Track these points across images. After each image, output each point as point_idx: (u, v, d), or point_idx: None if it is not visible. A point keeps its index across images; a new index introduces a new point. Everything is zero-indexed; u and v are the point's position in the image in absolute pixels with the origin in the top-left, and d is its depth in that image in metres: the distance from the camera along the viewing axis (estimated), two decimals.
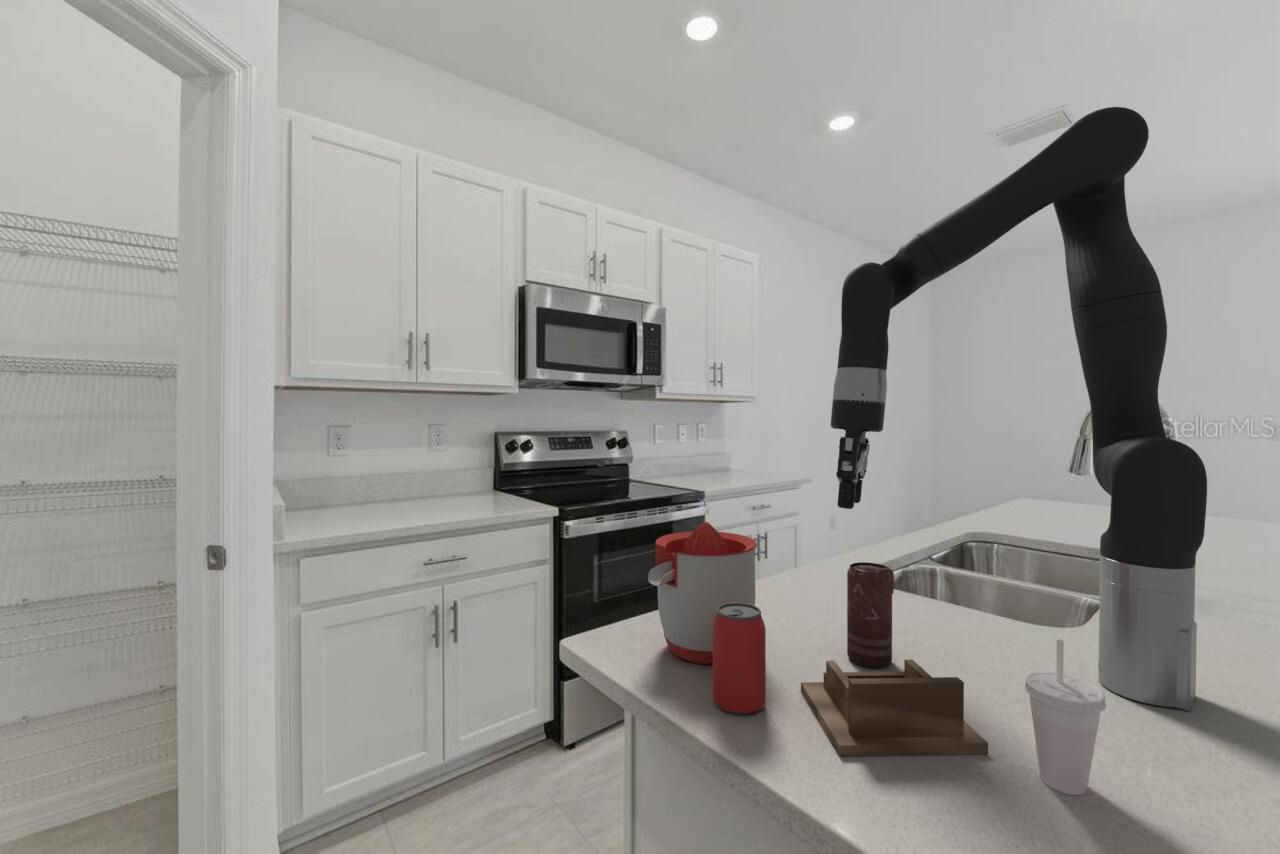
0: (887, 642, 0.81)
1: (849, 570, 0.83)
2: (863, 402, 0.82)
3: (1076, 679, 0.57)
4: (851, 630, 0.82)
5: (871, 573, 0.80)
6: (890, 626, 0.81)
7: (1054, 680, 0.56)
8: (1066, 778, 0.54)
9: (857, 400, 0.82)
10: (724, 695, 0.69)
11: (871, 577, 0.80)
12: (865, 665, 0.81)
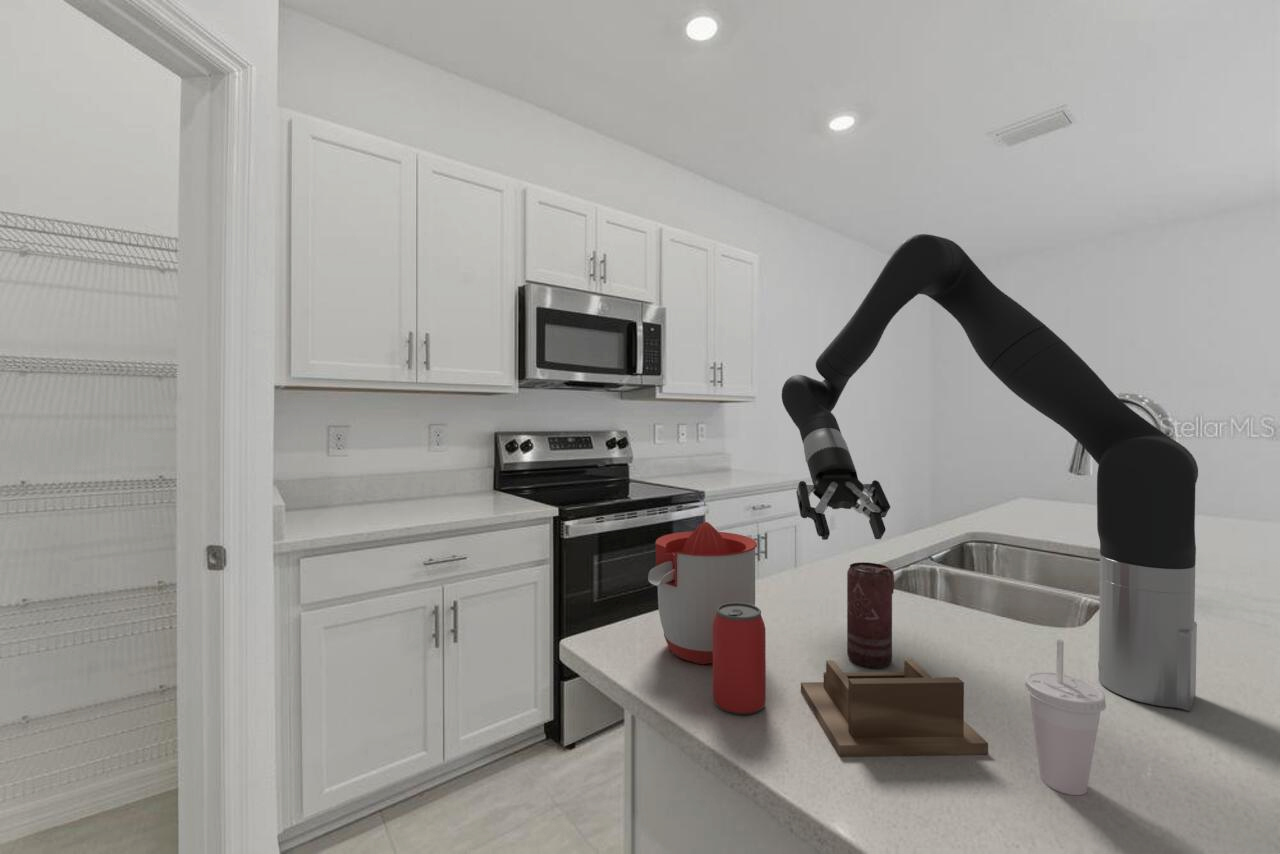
0: (887, 642, 0.81)
1: (849, 570, 0.83)
2: (810, 458, 1.00)
3: (1076, 679, 0.57)
4: (851, 630, 0.82)
5: (871, 573, 0.80)
6: (890, 626, 0.81)
7: (1054, 680, 0.56)
8: (1066, 778, 0.54)
9: (808, 460, 1.00)
10: (724, 695, 0.69)
11: (871, 577, 0.80)
12: (865, 665, 0.81)
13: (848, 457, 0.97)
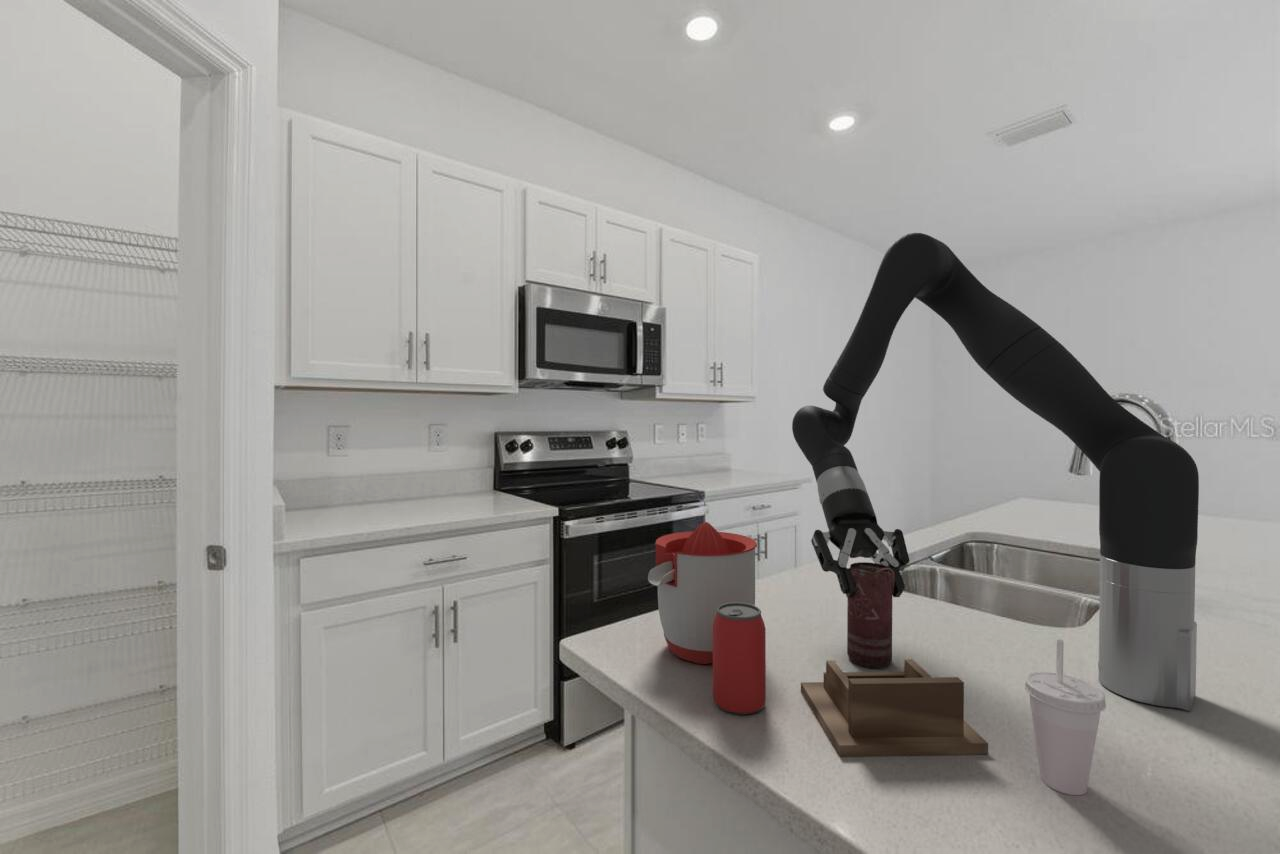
0: (887, 642, 0.81)
1: None
2: (825, 499, 0.92)
3: (1076, 679, 0.57)
4: (851, 630, 0.82)
5: (871, 573, 0.80)
6: (890, 626, 0.81)
7: (1054, 680, 0.56)
8: (1066, 778, 0.54)
9: (823, 501, 0.92)
10: (724, 695, 0.69)
11: (871, 577, 0.80)
12: (865, 665, 0.81)
13: (867, 500, 0.89)
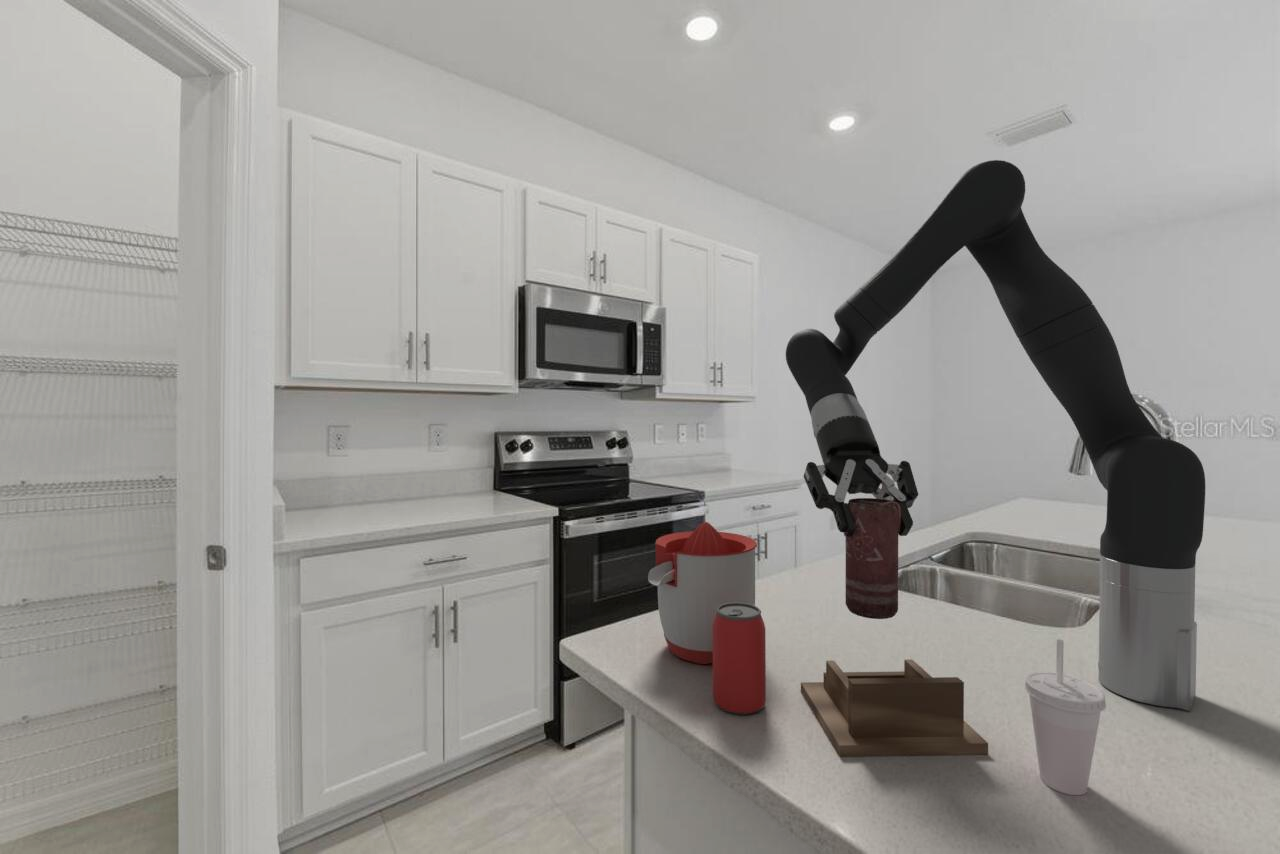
0: (892, 588, 0.68)
1: (848, 505, 0.71)
2: (820, 430, 0.79)
3: (1076, 679, 0.57)
4: (850, 574, 0.70)
5: (874, 506, 0.68)
6: (896, 569, 0.69)
7: (1054, 680, 0.56)
8: (1066, 778, 0.54)
9: (817, 433, 0.80)
10: (724, 695, 0.69)
11: (874, 511, 0.68)
12: (866, 615, 0.69)
13: (868, 429, 0.77)
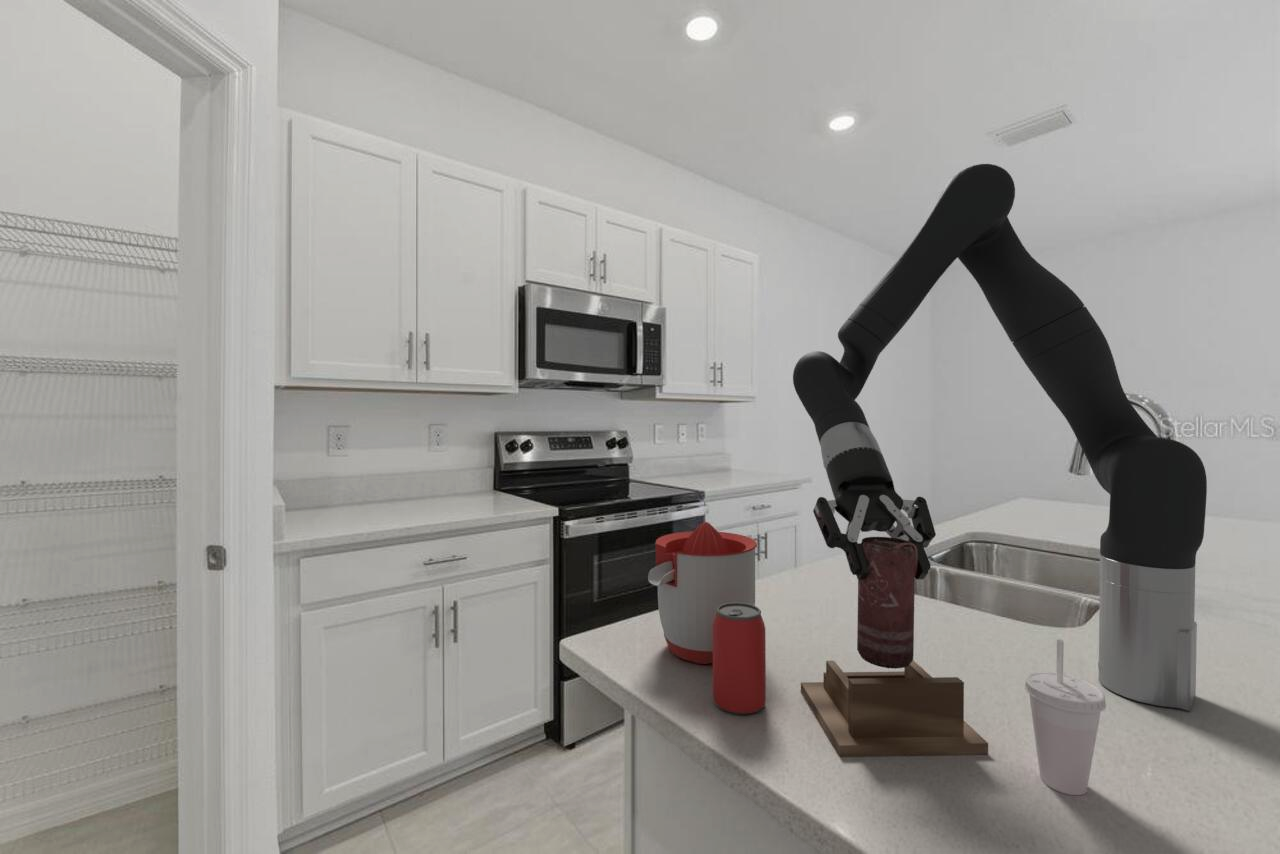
0: (908, 636, 0.64)
1: (861, 545, 0.67)
2: (830, 462, 0.75)
3: (1076, 679, 0.57)
4: (863, 620, 0.66)
5: (889, 548, 0.64)
6: (912, 615, 0.65)
7: (1054, 680, 0.56)
8: (1066, 778, 0.54)
9: (827, 464, 0.76)
10: (724, 695, 0.69)
11: (889, 553, 0.64)
12: (880, 664, 0.64)
13: (882, 461, 0.72)
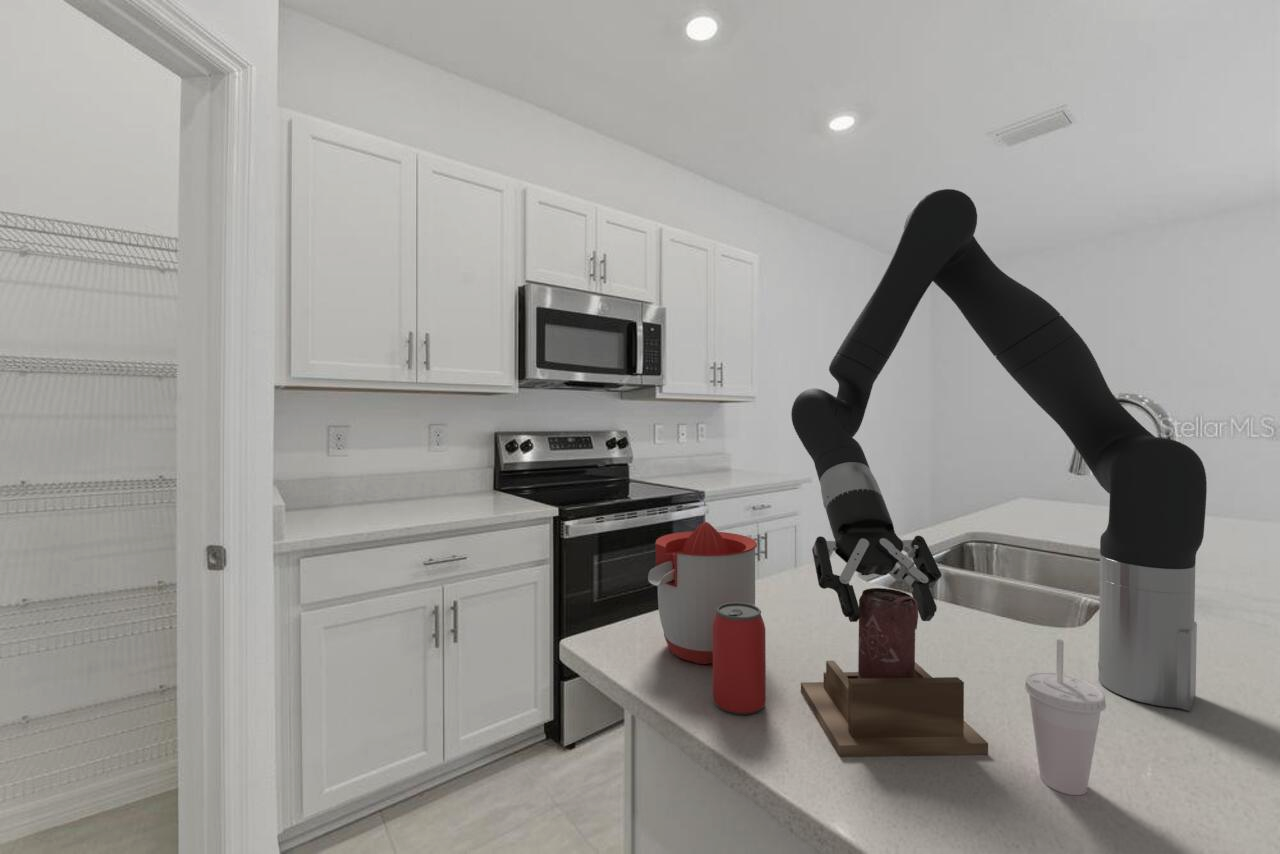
0: None
1: (861, 598, 0.67)
2: (830, 503, 0.75)
3: (1076, 679, 0.57)
4: (863, 673, 0.66)
5: (890, 604, 0.64)
6: (913, 670, 0.65)
7: (1054, 680, 0.56)
8: (1066, 778, 0.54)
9: (827, 505, 0.76)
10: (724, 695, 0.69)
11: (890, 609, 0.64)
12: None
13: (882, 503, 0.73)
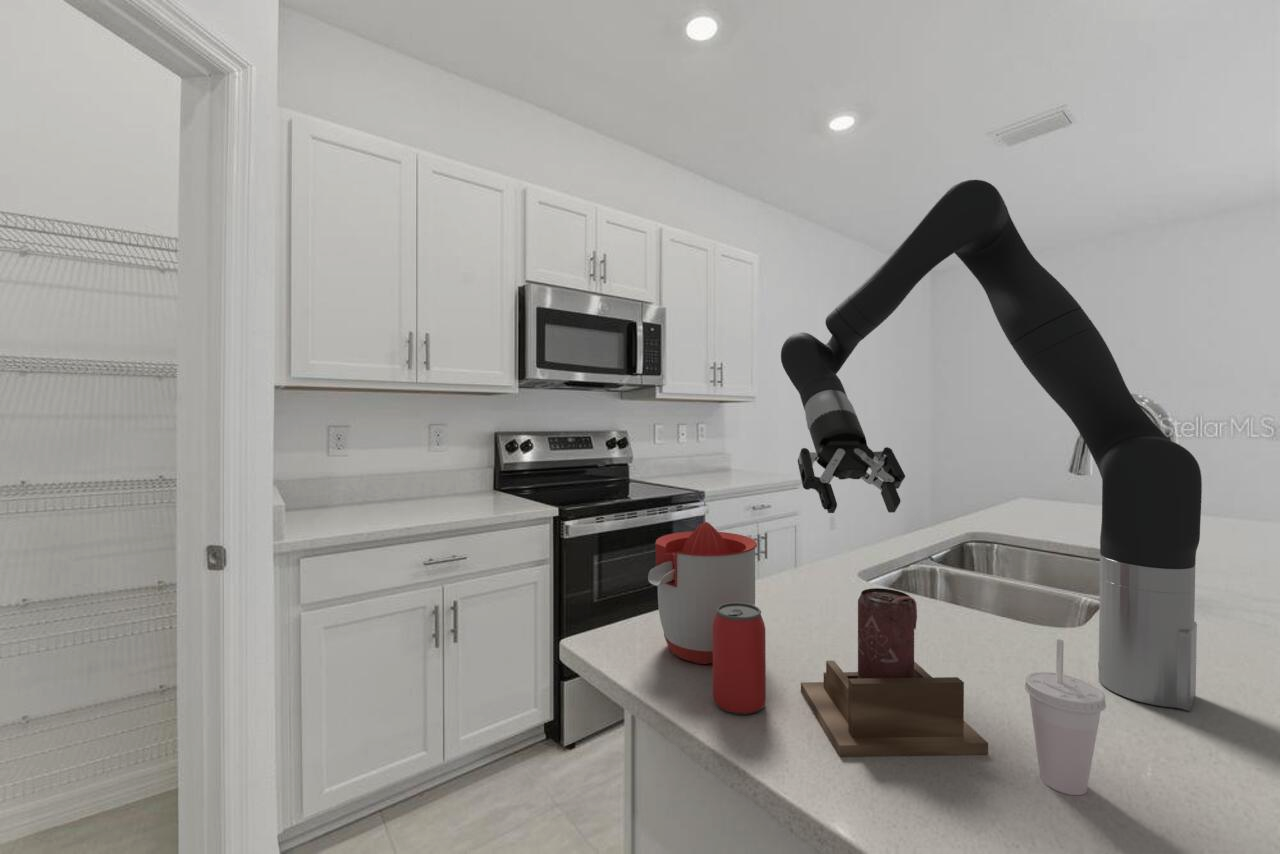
0: None
1: (860, 599, 0.67)
2: (813, 423, 0.88)
3: (1076, 679, 0.57)
4: (863, 674, 0.66)
5: (888, 604, 0.64)
6: (912, 670, 0.65)
7: (1054, 680, 0.56)
8: (1066, 778, 0.54)
9: (810, 425, 0.89)
10: (724, 695, 0.69)
11: (888, 609, 0.64)
12: None
13: (856, 421, 0.85)
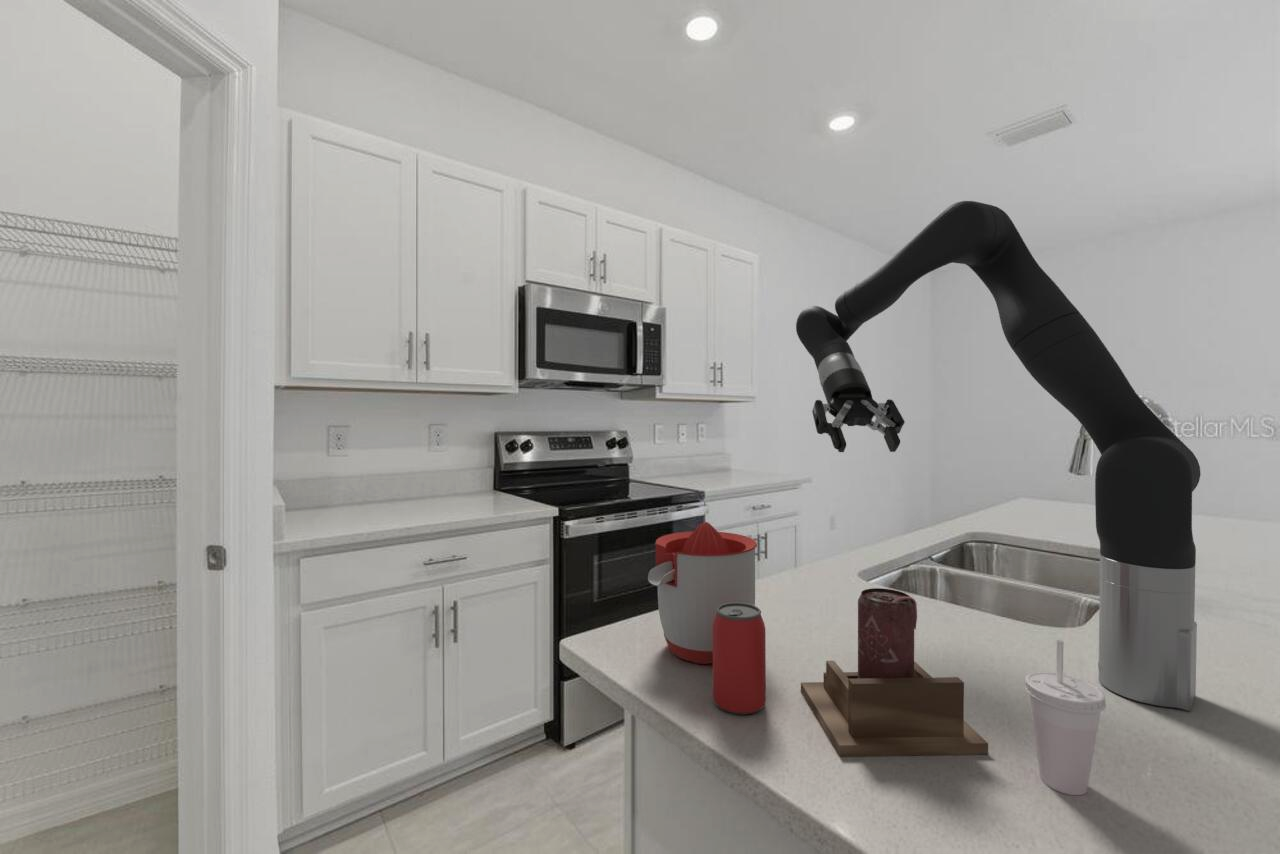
0: None
1: (860, 599, 0.67)
2: (825, 380, 1.02)
3: (1076, 679, 0.57)
4: (863, 673, 0.66)
5: (888, 604, 0.64)
6: (912, 670, 0.65)
7: (1054, 680, 0.56)
8: (1066, 778, 0.54)
9: (823, 382, 1.03)
10: (724, 695, 0.69)
11: (888, 609, 0.64)
12: None
13: (863, 377, 1.00)
